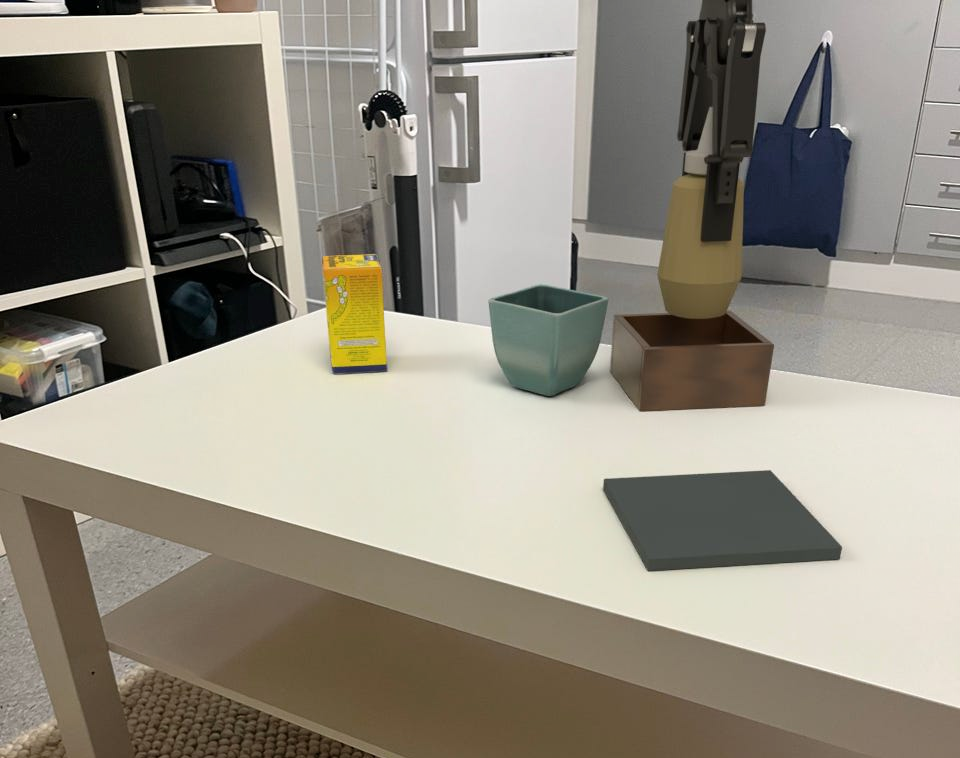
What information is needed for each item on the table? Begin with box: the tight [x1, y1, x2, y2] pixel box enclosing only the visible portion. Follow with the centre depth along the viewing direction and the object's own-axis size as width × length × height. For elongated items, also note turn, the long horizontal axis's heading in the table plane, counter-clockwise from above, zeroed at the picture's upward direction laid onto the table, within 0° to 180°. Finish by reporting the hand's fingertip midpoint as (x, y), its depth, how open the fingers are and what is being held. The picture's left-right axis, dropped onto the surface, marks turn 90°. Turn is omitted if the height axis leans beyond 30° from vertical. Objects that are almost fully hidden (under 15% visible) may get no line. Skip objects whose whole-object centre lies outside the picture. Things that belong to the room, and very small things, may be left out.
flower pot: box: [487, 283, 610, 397], centre depth 102 cm, size 9×9×9 cm
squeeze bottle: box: [657, 107, 745, 319], centre depth 95 cm, size 8×8×18 cm
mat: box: [602, 469, 843, 572], centre depth 77 cm, size 14×14×1 cm
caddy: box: [609, 310, 775, 412], centre depth 102 cm, size 13×13×6 cm
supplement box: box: [321, 253, 388, 375], centre depth 107 cm, size 6×6×11 cm
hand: (703, 232), depth 96 cm, fingers closed on squeeze bottle, 6 cm apart
